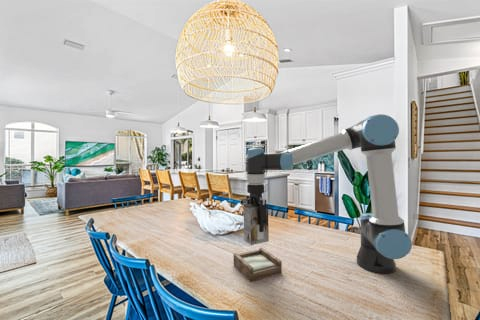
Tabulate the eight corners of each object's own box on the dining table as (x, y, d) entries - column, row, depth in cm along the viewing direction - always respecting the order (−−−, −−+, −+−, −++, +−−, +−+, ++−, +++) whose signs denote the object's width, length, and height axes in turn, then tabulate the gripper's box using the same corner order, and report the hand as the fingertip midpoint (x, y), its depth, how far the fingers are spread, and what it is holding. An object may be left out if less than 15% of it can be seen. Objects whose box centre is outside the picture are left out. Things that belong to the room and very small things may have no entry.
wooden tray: (281, 273, 98) (281, 261, 98) (250, 281, 91) (250, 268, 91) (262, 258, 112) (261, 247, 112) (233, 265, 106) (233, 253, 106)
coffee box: (261, 237, 106) (260, 202, 106) (269, 241, 101) (268, 204, 101) (243, 240, 102) (243, 204, 102) (250, 245, 97) (250, 207, 96)
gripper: (275, 185, 94) (276, 242, 94) (252, 181, 112) (253, 229, 112) (259, 186, 91) (260, 245, 91) (238, 182, 108) (238, 231, 109)
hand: (256, 236), depth 102 cm, fingers closed on coffee box, 6 cm apart
